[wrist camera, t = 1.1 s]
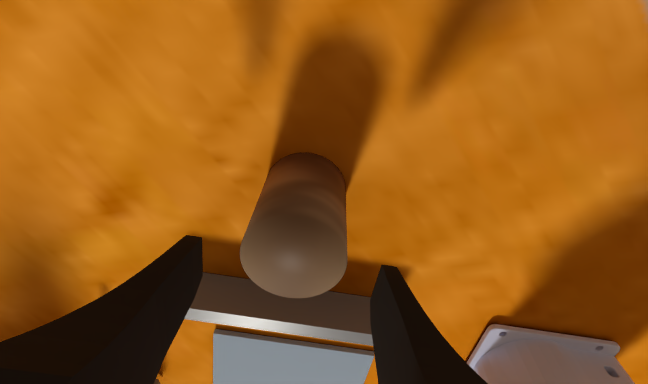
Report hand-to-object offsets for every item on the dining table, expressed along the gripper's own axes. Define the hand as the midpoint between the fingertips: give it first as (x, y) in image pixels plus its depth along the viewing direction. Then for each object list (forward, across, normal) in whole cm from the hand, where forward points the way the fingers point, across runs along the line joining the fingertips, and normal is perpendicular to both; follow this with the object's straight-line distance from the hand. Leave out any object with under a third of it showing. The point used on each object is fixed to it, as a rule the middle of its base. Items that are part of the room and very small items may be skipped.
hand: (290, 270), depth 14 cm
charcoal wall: (+7, 0, +8) cm, 10 cm away
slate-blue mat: (+7, -1, +19) cm, 20 cm away
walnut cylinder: (+7, 0, 0) cm, 7 cm away
